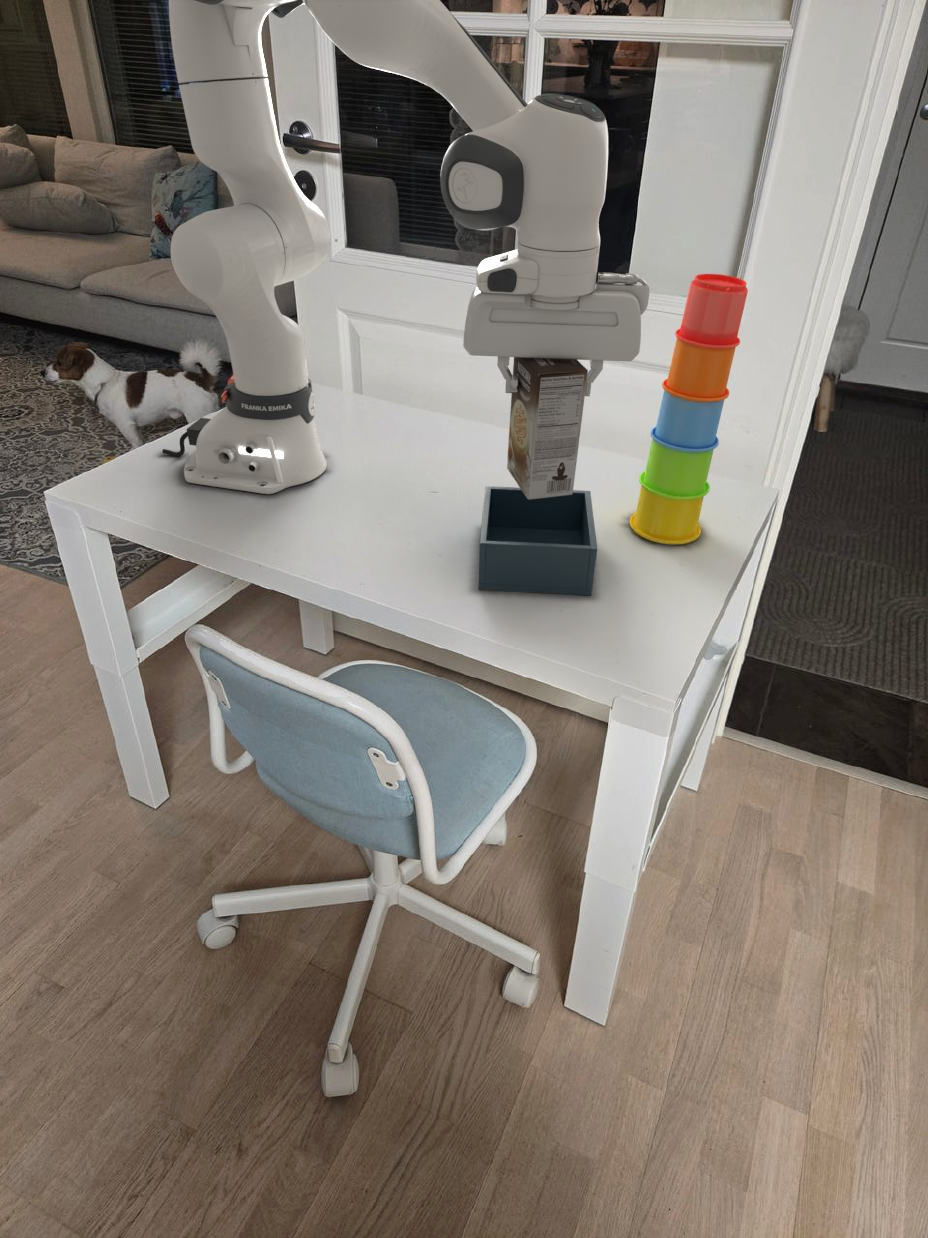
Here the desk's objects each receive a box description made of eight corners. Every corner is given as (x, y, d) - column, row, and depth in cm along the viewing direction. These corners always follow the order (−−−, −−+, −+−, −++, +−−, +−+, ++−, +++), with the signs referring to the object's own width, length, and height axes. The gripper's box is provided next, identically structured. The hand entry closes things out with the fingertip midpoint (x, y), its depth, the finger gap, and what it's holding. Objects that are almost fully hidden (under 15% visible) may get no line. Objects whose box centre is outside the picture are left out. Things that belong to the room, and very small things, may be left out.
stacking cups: (628, 508, 124) (666, 267, 104) (697, 515, 123) (749, 271, 102) (629, 543, 116) (670, 288, 95) (703, 550, 115) (760, 293, 94)
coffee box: (504, 468, 108) (511, 346, 98) (550, 464, 109) (561, 343, 100) (527, 501, 101) (537, 372, 91) (575, 495, 102) (590, 368, 93)
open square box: (478, 589, 106) (479, 543, 102) (484, 529, 118) (485, 485, 114) (591, 595, 105) (597, 549, 101) (585, 534, 118) (590, 490, 114)
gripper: (648, 267, 92) (631, 387, 100) (466, 261, 93) (464, 380, 101) (655, 281, 87) (637, 406, 95) (463, 274, 88) (461, 399, 96)
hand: (546, 393), depth 98 cm, fingers closed on coffee box, 7 cm apart
